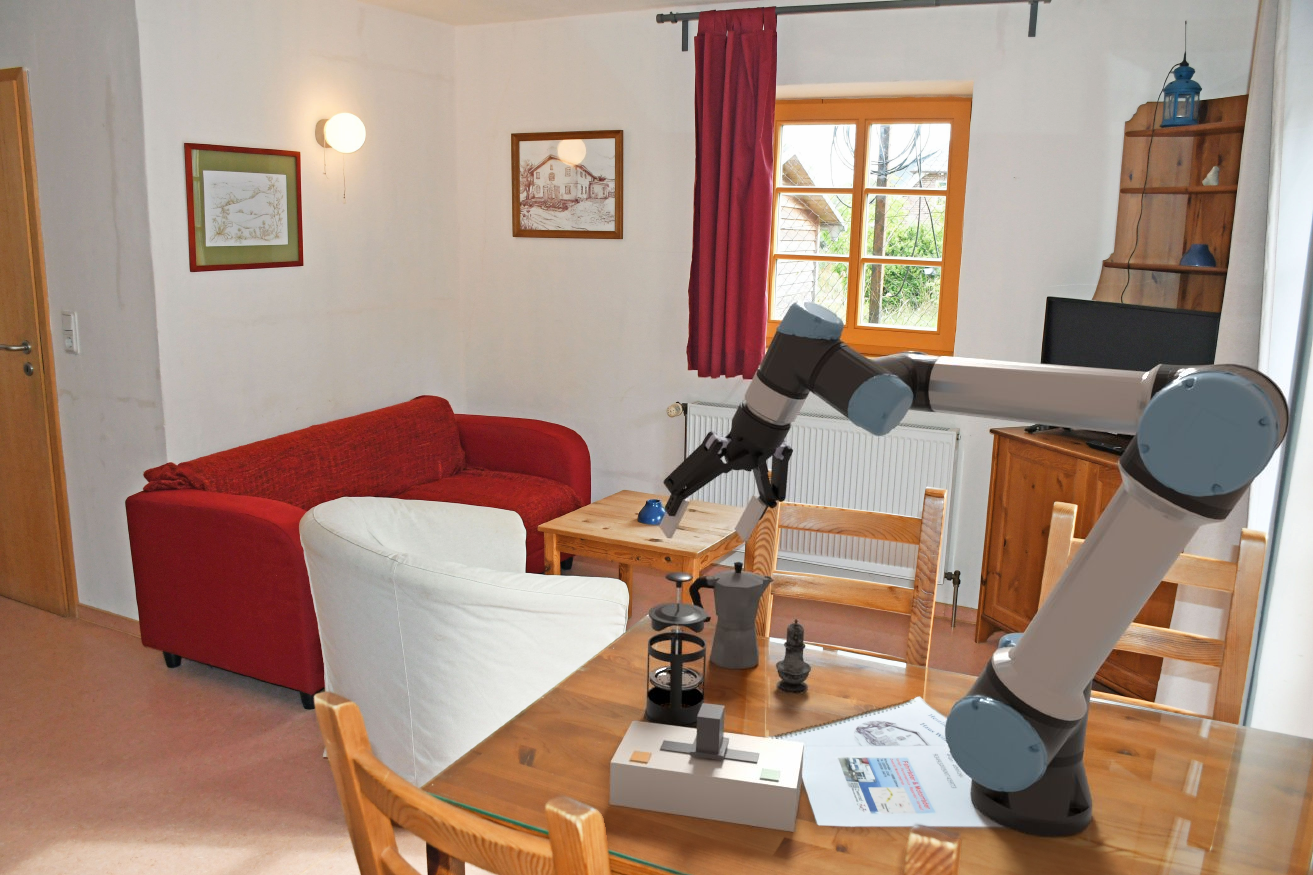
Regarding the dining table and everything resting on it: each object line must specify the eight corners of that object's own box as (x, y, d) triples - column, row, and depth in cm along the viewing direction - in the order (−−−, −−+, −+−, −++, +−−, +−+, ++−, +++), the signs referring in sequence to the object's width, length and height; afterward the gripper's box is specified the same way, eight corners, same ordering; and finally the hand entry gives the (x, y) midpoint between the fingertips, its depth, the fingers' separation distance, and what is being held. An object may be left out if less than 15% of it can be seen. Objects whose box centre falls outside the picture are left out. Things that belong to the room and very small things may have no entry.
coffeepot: (760, 646, 184) (764, 552, 180) (778, 666, 175) (784, 568, 171) (679, 652, 180) (682, 556, 176) (694, 674, 171) (698, 573, 168)
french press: (705, 732, 151) (711, 587, 146) (643, 730, 151) (647, 585, 146) (703, 697, 162) (708, 562, 158) (645, 695, 162) (649, 560, 158)
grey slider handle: (728, 741, 135) (730, 704, 133) (723, 760, 130) (724, 721, 129) (696, 737, 135) (698, 700, 134) (689, 755, 131) (691, 717, 130)
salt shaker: (771, 691, 165) (775, 622, 163) (778, 676, 171) (781, 610, 168) (807, 696, 164) (811, 627, 161) (812, 682, 169) (816, 614, 167)
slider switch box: (801, 782, 137) (804, 741, 136) (793, 831, 126) (796, 786, 124) (632, 759, 142) (632, 718, 141) (609, 804, 131) (610, 760, 129)
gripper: (820, 405, 143) (757, 520, 152) (680, 385, 129) (620, 513, 138) (849, 434, 138) (783, 552, 147) (706, 417, 124) (642, 548, 133)
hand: (703, 533), depth 143 cm, fingers open, 13 cm apart
